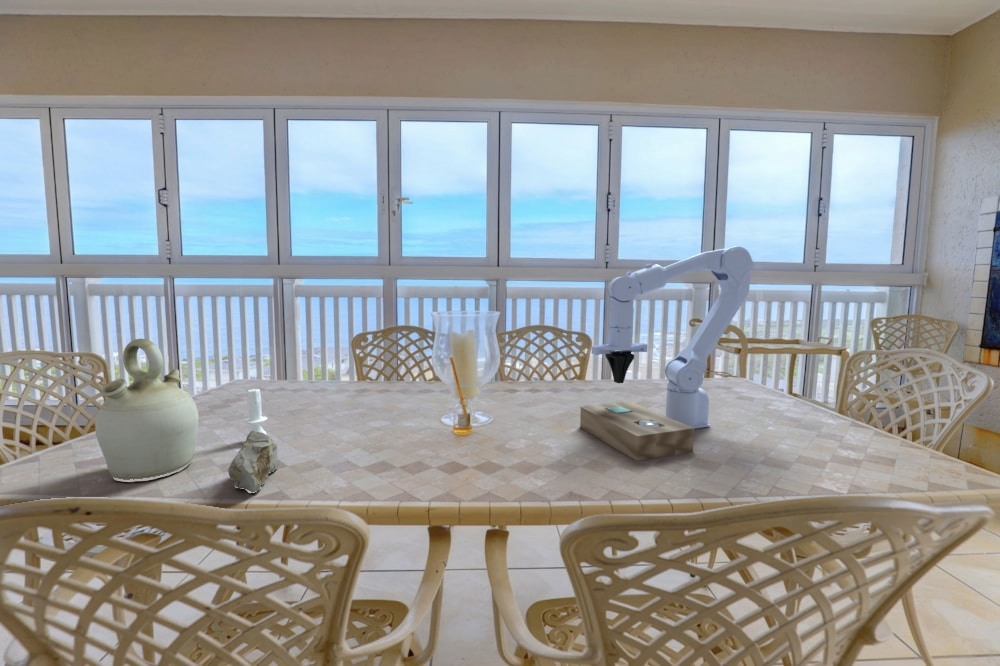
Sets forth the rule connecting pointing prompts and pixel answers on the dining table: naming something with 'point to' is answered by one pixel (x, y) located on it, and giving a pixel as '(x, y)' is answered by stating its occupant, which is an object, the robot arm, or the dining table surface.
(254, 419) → the candle
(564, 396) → the dining table surface
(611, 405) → the socket block
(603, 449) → the dining table surface
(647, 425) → the peg round
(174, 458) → the jug
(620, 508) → the dining table surface
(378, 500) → the dining table surface
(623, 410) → the peg square
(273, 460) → the rock
